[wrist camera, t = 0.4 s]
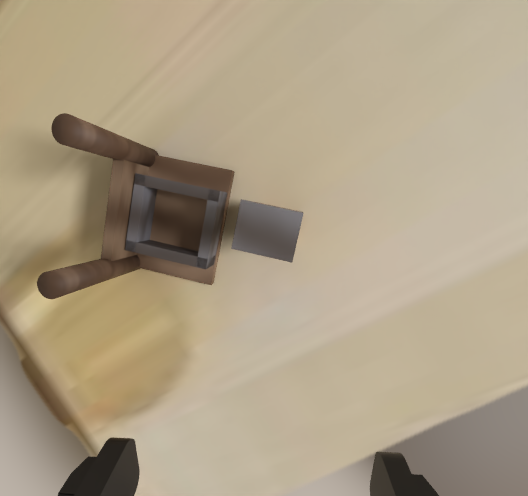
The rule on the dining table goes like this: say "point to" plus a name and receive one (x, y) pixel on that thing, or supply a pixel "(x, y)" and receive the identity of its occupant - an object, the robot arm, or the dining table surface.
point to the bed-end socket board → (147, 212)
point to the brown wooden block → (267, 230)
